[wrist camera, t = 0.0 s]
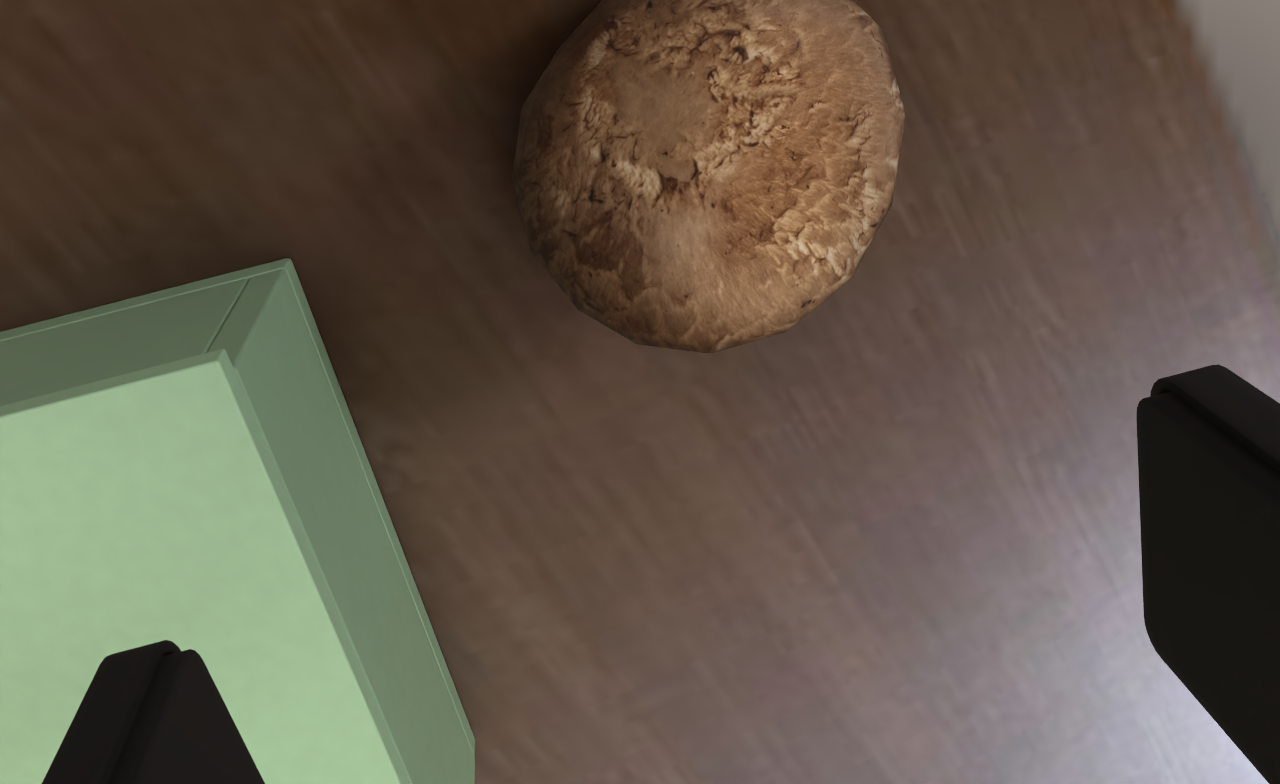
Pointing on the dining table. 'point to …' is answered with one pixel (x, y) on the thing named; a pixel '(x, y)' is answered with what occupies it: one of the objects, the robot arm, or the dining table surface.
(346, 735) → the green flat panel
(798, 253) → the mushroom
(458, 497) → the dining table surface
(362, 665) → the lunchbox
